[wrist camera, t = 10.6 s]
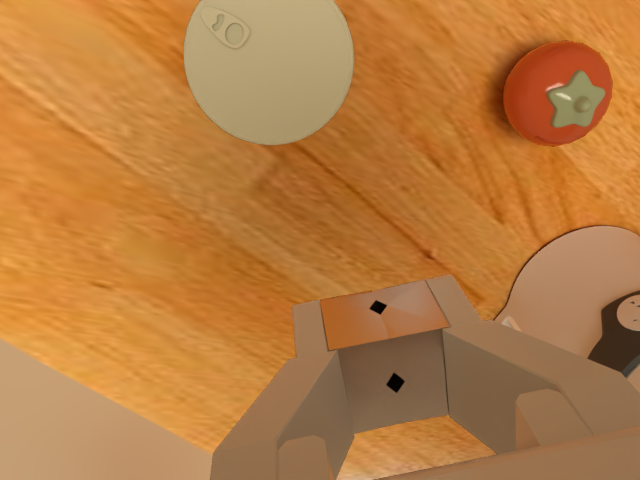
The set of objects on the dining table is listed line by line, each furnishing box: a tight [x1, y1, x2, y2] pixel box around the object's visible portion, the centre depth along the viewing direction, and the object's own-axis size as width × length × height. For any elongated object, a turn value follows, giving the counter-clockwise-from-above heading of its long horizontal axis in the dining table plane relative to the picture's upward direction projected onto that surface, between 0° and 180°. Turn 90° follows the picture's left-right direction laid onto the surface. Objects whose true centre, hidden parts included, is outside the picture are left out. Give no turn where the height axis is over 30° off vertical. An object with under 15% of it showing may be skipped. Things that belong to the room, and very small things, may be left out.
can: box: [183, 0, 354, 145], centre depth 34 cm, size 9×9×12 cm
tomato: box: [503, 40, 613, 147], centre depth 38 cm, size 7×7×8 cm
